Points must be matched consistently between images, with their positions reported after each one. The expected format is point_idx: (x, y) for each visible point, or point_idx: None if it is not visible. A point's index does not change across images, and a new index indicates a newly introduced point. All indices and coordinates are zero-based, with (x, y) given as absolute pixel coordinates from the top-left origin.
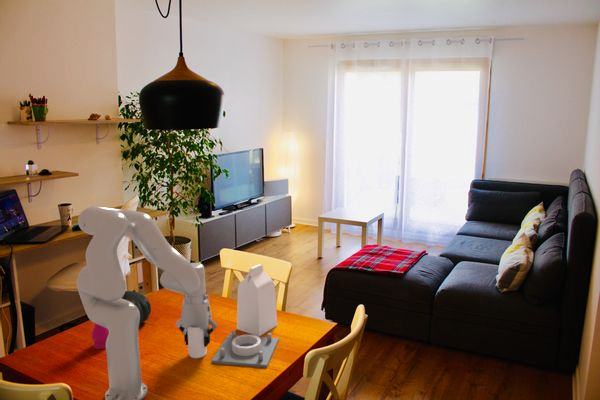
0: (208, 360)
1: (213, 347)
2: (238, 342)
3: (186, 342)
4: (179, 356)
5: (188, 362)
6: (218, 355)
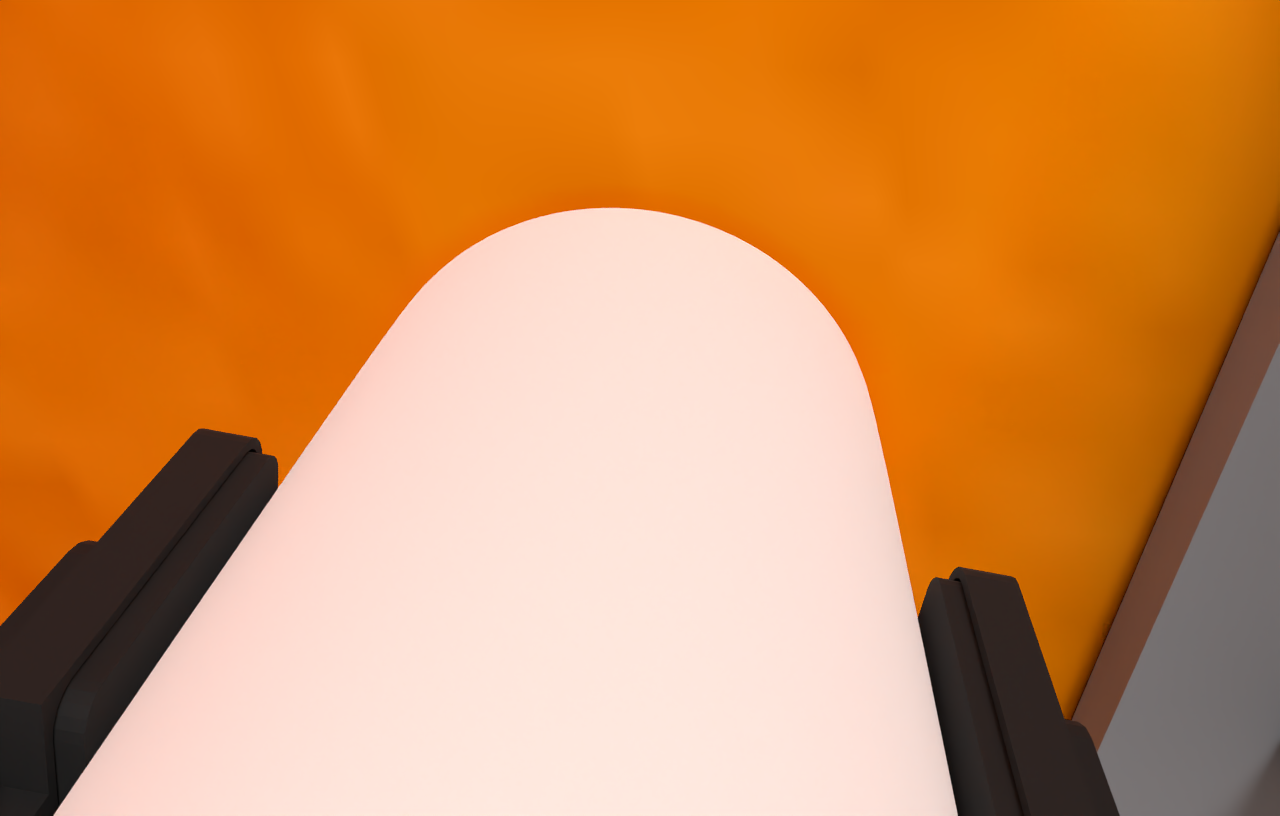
0: None
1: (1060, 28)
2: None
3: None
4: None
5: None
6: (1238, 684)
